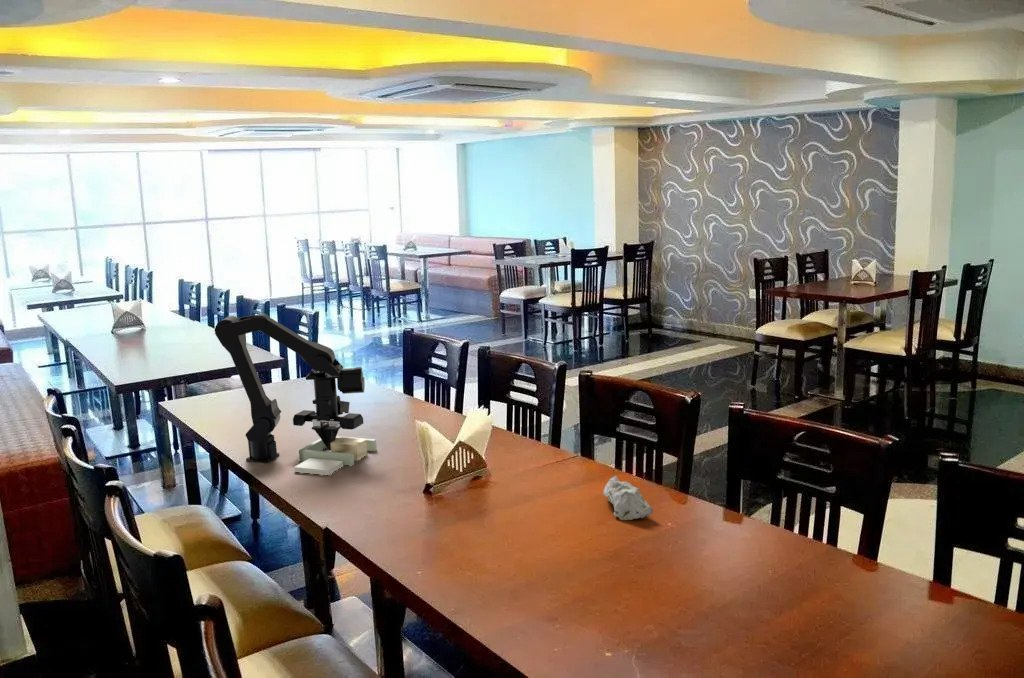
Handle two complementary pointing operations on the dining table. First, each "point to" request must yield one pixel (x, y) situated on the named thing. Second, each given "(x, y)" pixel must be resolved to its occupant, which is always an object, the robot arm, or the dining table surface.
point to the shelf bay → (316, 452)
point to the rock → (626, 500)
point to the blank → (350, 447)
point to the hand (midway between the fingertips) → (330, 450)
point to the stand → (318, 466)
